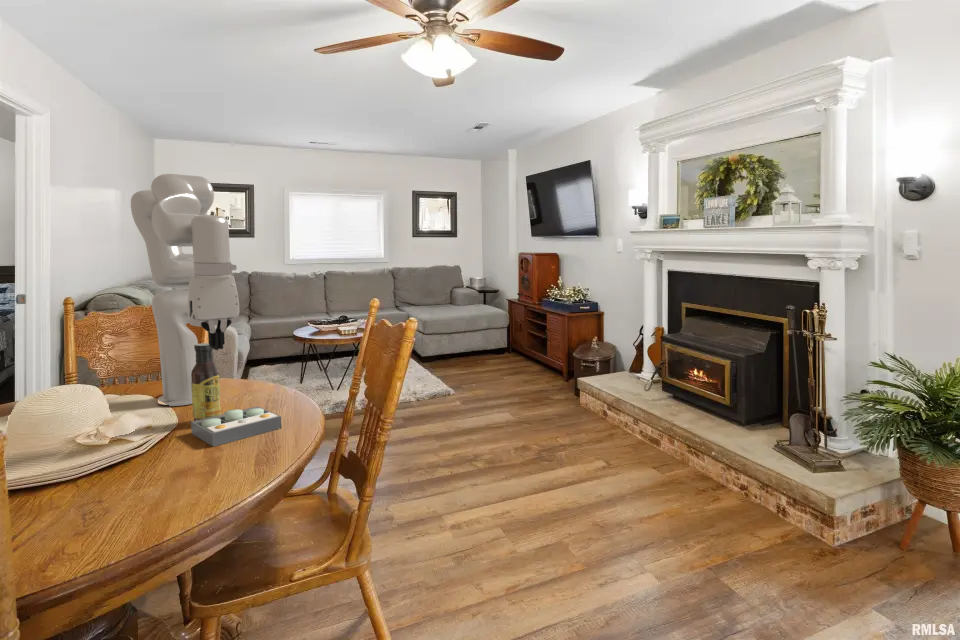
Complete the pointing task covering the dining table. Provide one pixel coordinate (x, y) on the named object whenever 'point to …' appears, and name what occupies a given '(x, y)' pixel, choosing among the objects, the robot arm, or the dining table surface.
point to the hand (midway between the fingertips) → (217, 348)
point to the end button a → (211, 422)
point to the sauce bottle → (205, 384)
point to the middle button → (233, 415)
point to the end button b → (254, 412)
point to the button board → (236, 427)
